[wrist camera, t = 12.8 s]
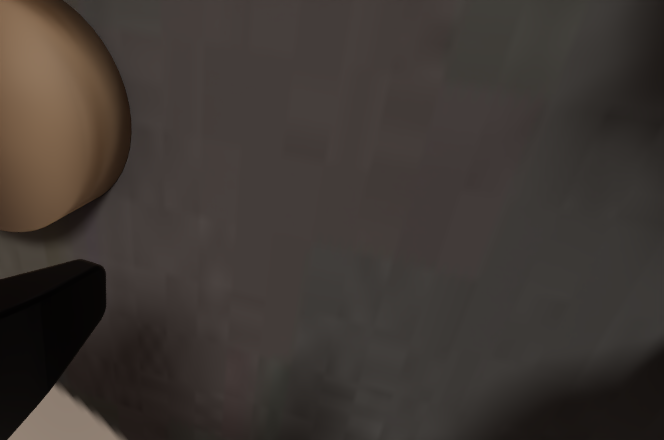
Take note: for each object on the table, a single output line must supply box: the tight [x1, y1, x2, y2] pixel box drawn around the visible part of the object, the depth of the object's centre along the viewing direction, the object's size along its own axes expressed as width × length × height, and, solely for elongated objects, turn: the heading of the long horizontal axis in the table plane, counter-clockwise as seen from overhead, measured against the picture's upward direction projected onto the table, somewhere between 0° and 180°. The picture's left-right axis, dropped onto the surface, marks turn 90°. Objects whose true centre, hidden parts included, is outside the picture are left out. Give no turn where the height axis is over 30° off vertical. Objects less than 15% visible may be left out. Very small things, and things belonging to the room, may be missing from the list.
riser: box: [0, 0, 131, 232], centre depth 22 cm, size 10×10×3 cm
